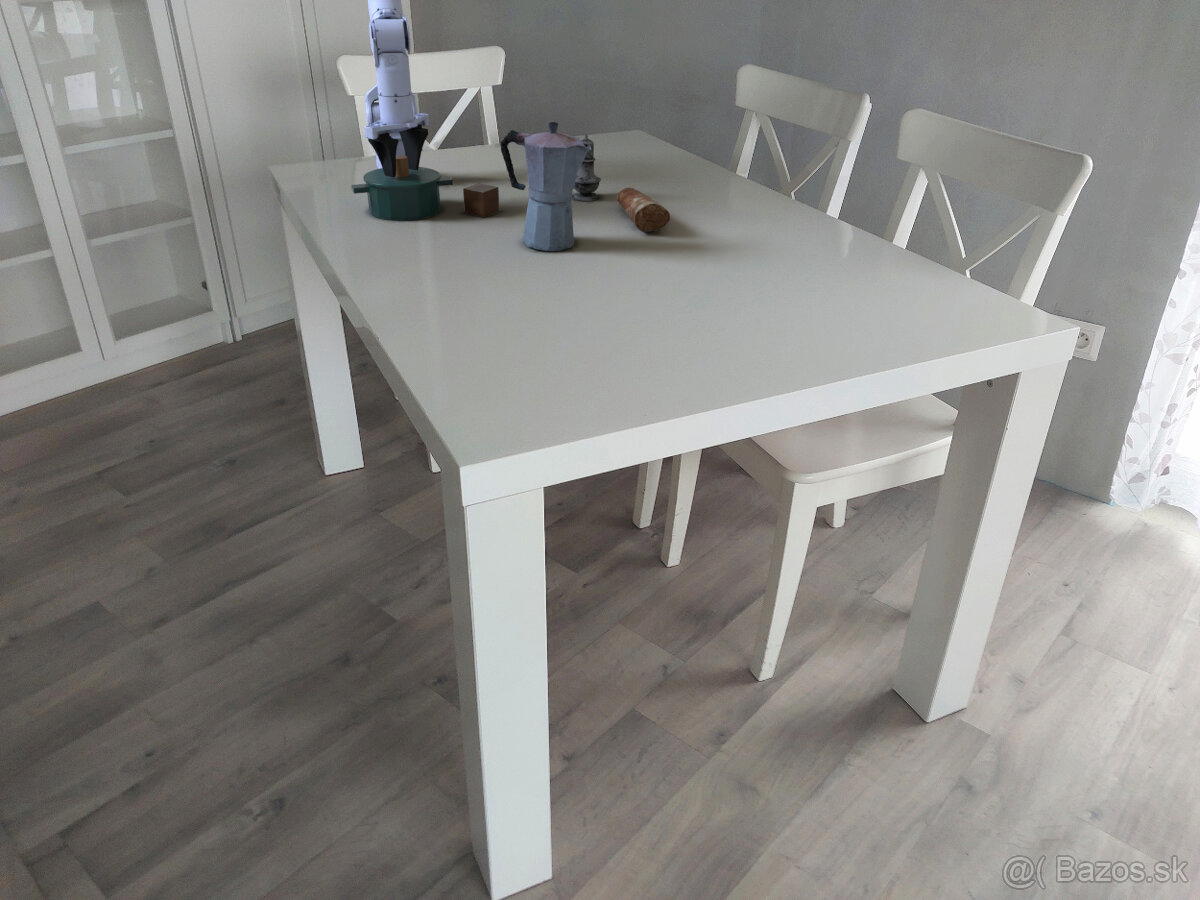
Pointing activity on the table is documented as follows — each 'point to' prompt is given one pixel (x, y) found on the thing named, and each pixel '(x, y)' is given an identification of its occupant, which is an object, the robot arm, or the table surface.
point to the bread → (643, 210)
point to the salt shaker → (587, 177)
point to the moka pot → (548, 185)
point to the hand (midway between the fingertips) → (401, 172)
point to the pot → (403, 200)
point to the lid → (402, 176)
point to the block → (481, 200)
